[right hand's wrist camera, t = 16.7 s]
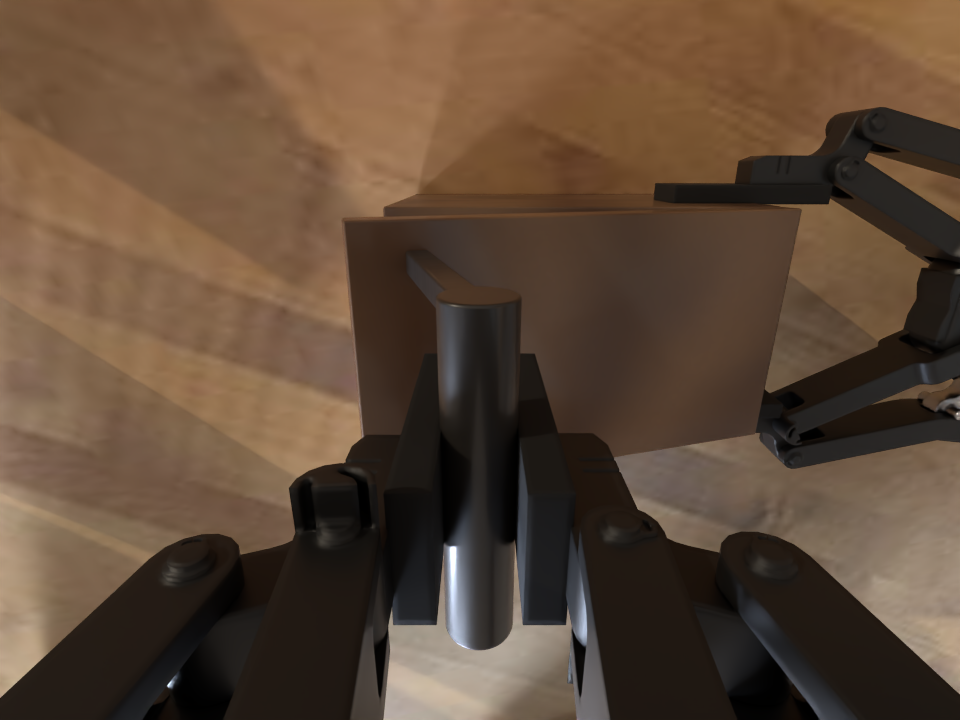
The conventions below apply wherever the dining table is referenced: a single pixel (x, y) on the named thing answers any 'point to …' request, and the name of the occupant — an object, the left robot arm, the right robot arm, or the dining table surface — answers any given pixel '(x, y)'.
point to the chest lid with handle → (559, 349)
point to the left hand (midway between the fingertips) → (650, 303)
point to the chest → (538, 204)
